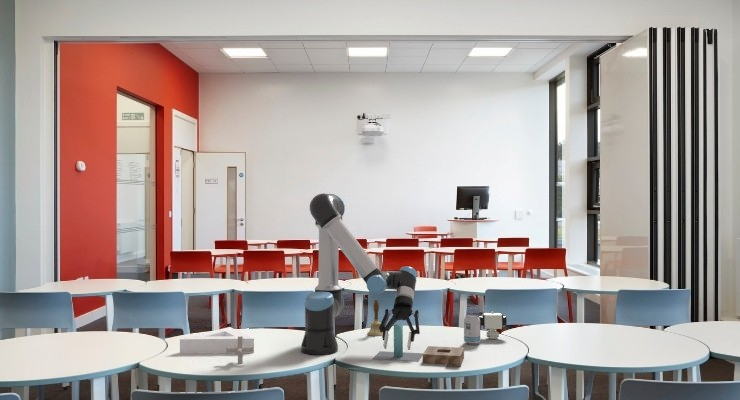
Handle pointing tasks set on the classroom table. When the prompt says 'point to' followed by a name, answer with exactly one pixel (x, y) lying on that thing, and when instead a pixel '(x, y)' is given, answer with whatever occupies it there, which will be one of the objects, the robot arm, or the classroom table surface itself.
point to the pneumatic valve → (492, 323)
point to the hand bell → (375, 322)
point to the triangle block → (215, 341)
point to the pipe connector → (240, 349)
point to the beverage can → (471, 329)
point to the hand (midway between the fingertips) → (396, 347)
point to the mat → (406, 357)
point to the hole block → (444, 356)
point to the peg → (398, 340)
